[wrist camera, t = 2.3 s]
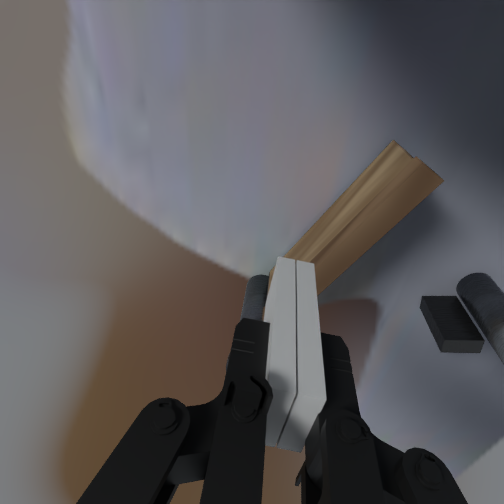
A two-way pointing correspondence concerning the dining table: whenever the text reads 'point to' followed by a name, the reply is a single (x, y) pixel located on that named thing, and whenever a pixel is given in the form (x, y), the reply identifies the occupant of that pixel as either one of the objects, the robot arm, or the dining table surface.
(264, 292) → the hinge post
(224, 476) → the robot arm
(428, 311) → the post
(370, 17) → the dining table surface
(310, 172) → the dining table surface
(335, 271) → the brown wooden board
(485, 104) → the dining table surface
